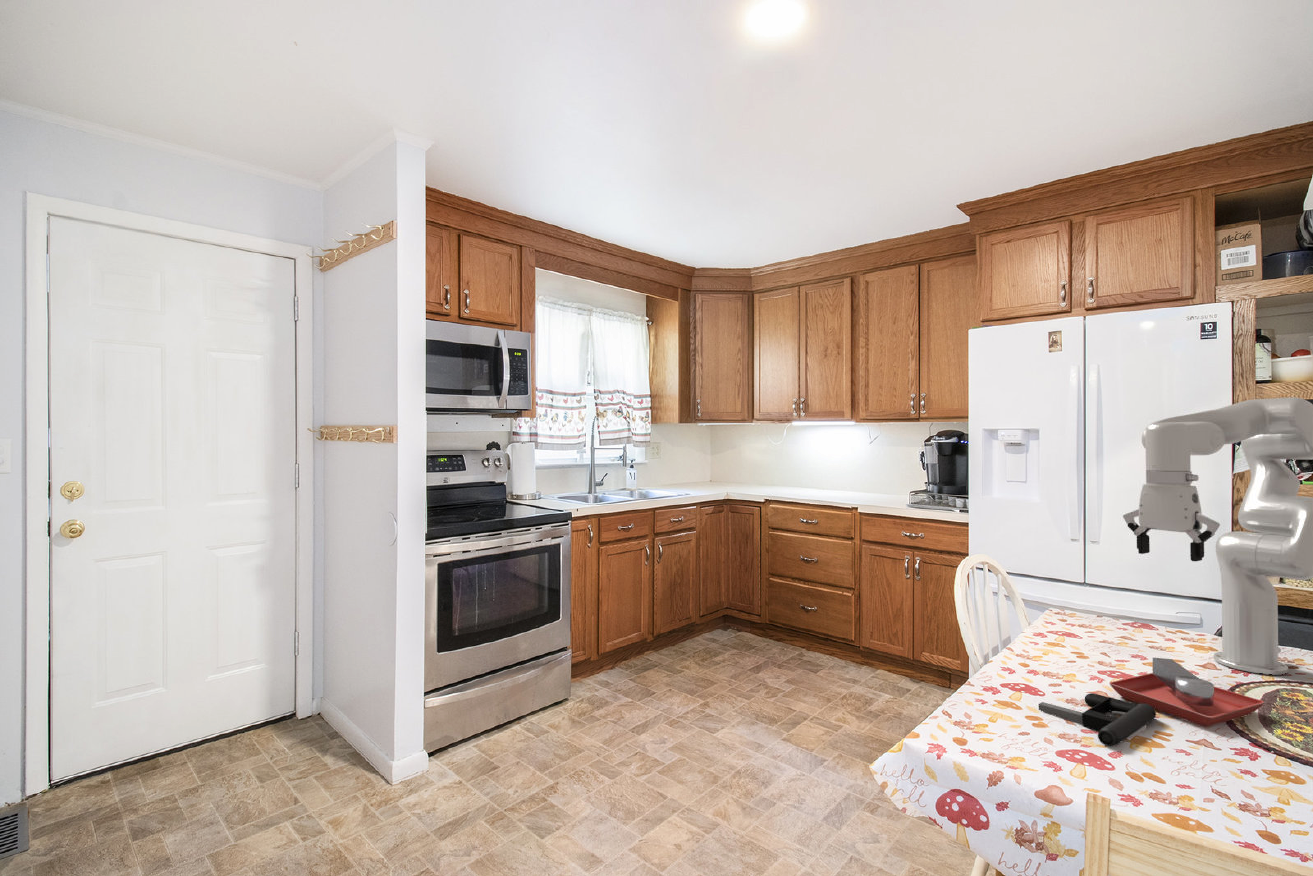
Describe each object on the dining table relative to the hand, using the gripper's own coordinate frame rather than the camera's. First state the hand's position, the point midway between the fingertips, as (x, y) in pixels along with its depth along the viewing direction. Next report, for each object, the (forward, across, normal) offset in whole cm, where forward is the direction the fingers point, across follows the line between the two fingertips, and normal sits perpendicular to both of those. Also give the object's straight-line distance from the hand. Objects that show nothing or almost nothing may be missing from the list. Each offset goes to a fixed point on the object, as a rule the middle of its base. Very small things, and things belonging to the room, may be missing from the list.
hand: (1169, 556), depth 133 cm
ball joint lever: (+25, -6, +10) cm, 28 cm away
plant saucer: (+29, -7, +10) cm, 31 cm away
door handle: (+28, -3, +34) cm, 44 cm away
